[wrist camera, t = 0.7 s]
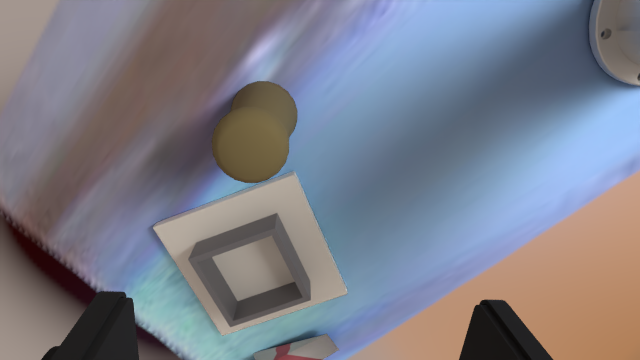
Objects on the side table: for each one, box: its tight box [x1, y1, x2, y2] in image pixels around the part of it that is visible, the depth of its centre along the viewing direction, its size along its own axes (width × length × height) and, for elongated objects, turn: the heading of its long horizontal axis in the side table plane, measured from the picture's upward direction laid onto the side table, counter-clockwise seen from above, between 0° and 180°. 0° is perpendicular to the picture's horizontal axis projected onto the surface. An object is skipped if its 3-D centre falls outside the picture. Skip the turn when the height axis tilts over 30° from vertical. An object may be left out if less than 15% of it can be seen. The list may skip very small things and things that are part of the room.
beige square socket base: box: [153, 171, 348, 336], centre depth 38 cm, size 15×15×4 cm
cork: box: [212, 81, 297, 183], centre depth 30 cm, size 6×6×11 cm
